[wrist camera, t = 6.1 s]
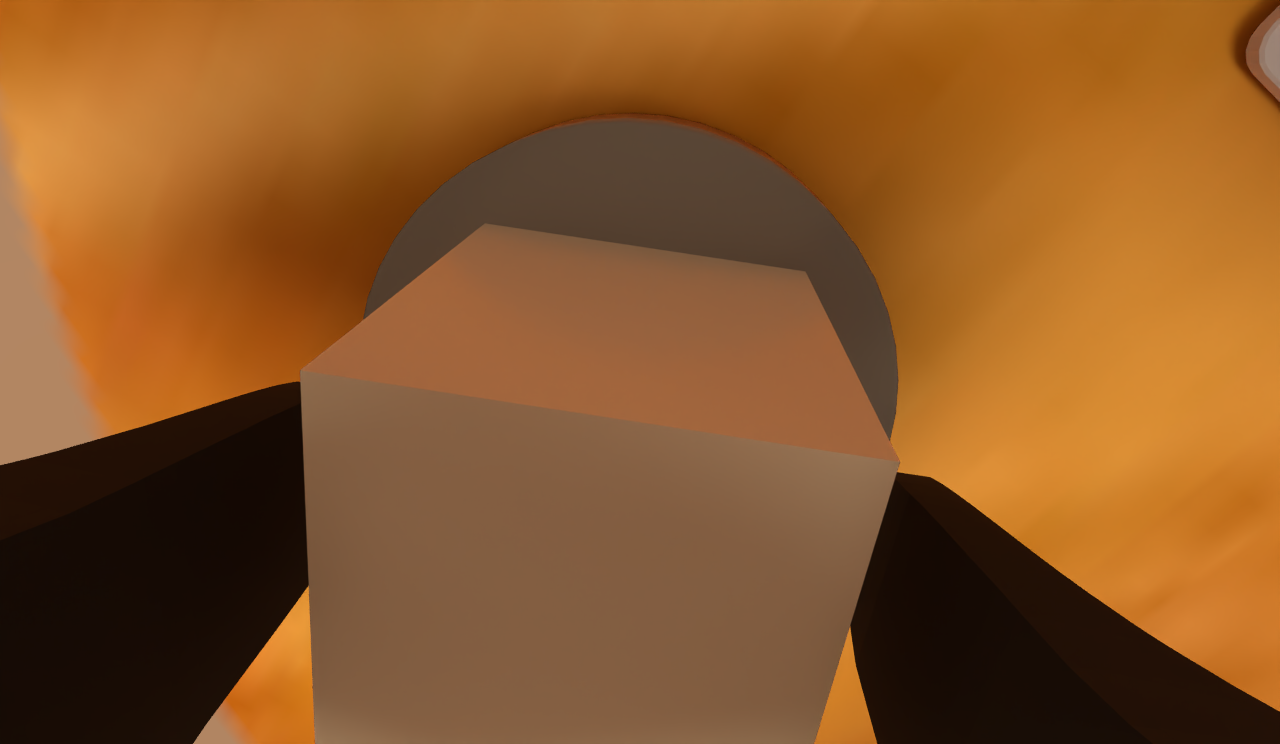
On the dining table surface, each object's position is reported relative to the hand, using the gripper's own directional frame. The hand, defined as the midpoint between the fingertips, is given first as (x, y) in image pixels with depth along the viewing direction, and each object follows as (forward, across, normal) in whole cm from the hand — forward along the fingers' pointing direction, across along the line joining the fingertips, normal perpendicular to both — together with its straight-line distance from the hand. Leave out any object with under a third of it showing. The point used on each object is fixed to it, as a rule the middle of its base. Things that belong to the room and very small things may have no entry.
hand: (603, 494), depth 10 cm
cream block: (+3, 0, 0) cm, 3 cm away
